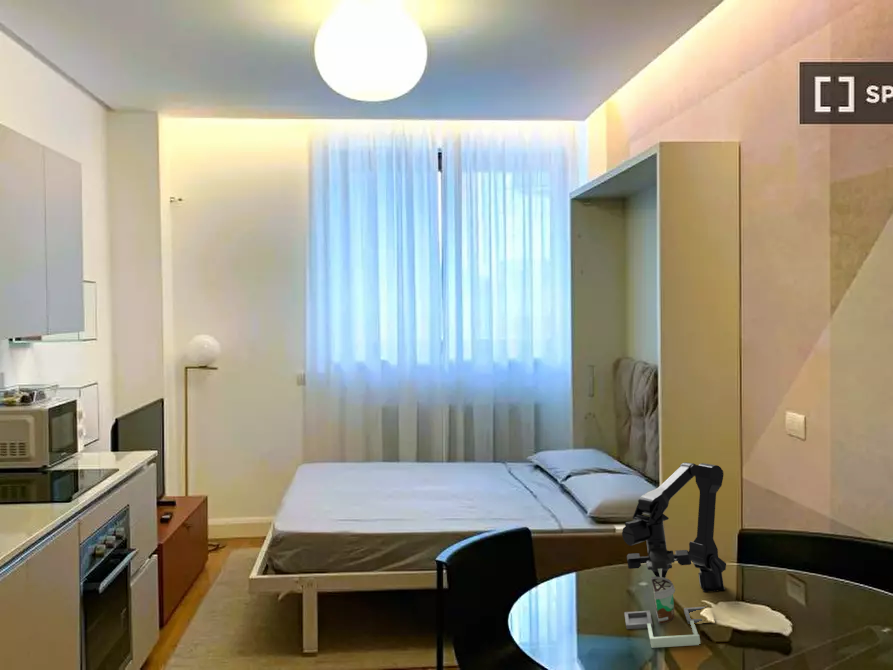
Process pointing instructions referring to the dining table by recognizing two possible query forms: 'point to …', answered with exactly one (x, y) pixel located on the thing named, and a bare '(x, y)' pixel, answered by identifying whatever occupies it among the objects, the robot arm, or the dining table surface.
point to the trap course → (644, 621)
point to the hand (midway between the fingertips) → (662, 586)
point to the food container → (663, 598)
